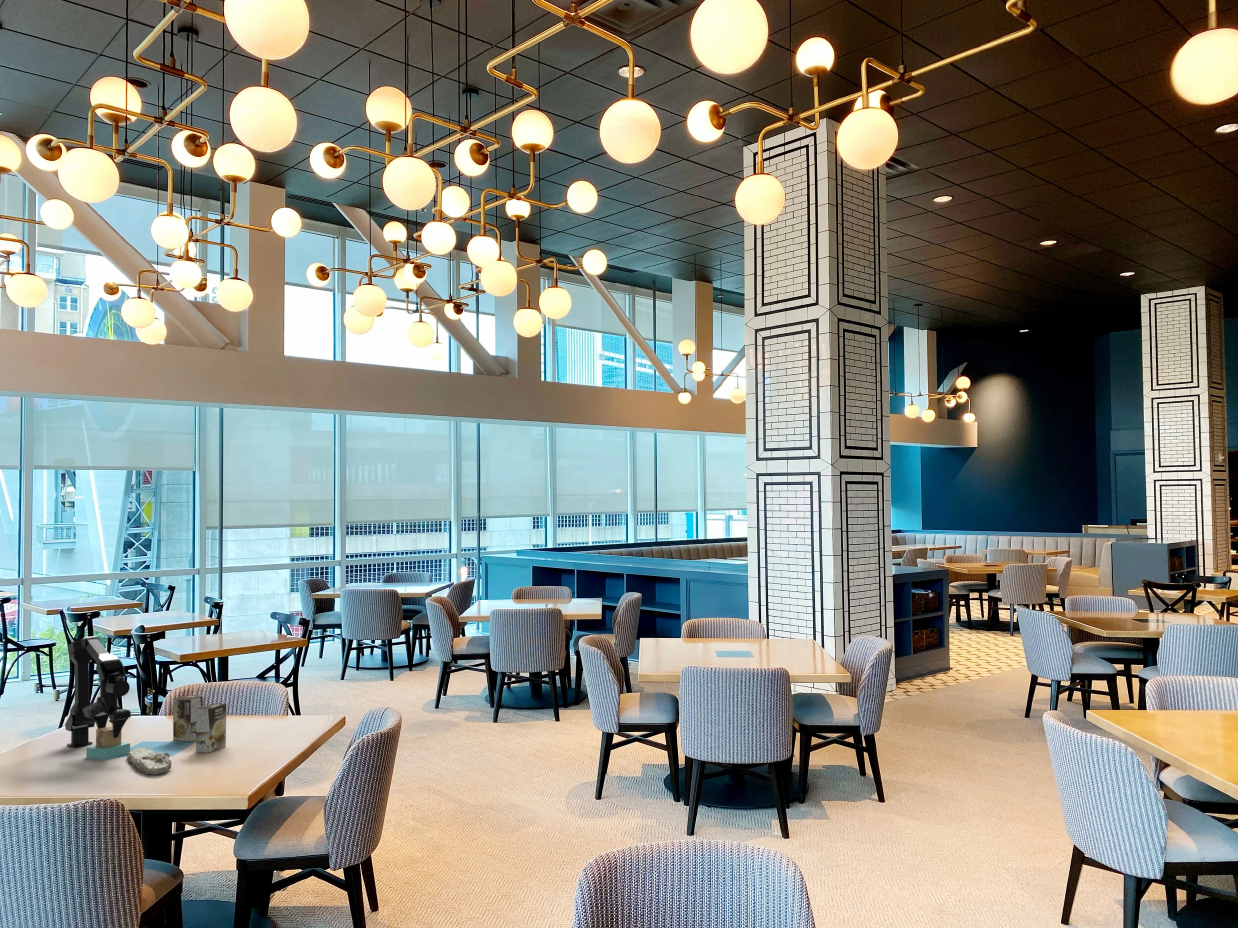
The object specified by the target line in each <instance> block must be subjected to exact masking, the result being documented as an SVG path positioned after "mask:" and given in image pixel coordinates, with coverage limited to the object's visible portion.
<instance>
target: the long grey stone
mask: <svg viewBox="0 0 1238 928" xmlns="http://www.w3.org/2000/svg"><path fill="white" fill-rule="evenodd" d="M170 755H171V754H170V753H169V752H161V753H160V752H159V753H158V752H155V751H153V750H151V749H150V748H149V747H138V748H135V749H130V752H129V753H128V754H127V757H126V758H127V759H128V762H130V763H131V764H132V765H133V767H135V768H137V770H139V771H140V772H142V773H144V774H145V775H161V774H164V773H168V772H169V770H171V768H172V760H171V759H170V758H169V757H170Z"/></svg>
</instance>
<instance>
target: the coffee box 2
mask: <svg viewBox="0 0 1238 928" xmlns="http://www.w3.org/2000/svg"><path fill="white" fill-rule="evenodd" d="M224 746H225V747H226V746H227V703H223V702H222V703H220V702H217V703H215V702H213V703H209V704H205V705H203V706H202V707H199V708H197V717H196V740H195V752H196V753H208V752H210V753H212V751H213V752H216V751H218V750H221V749H223V748H225V747H224ZM222 747H223V748H222ZM217 749H218V750H217Z"/></svg>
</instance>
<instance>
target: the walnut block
mask: <svg viewBox="0 0 1238 928" xmlns="http://www.w3.org/2000/svg"><path fill="white" fill-rule="evenodd" d="M95 731H96V732H95V745H96V746H98V747H102V748H107V747H112V746H116V745H121V742H122V730H121V731H120V733H119V735H118V737H117V738H114V735H113V726H112V725H111V726H106V727H105V728H100V729H98V728H96V730H95Z"/></svg>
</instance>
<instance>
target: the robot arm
mask: <svg viewBox="0 0 1238 928" xmlns="http://www.w3.org/2000/svg"><path fill="white" fill-rule="evenodd" d="M67 652H68V656H69V659H70V660H71V662H72V663H73V665H74V703H73V705H72V706H71V708H70V709H69V710H70V711H69V715H68V718H67V719H66V721H65V724H64V726H65V731H68V732H71V733H70V737H71V738H70V743H66V746H69V747H73V748H79V747H84V746H87V745H92V744H93V741H90V738H89V737H90V735H89V733H90V732H89V731H90V728H94V727H95V726H96V727H97V728H96V729H100V728H105V727H107V723H108V722H110V723H109V724H111V726H113V735H114V738H117V737H118V735H119V733H120V731H121V732H122V729H123V727H124V725H125V724H126V722H127V721H128V720H129V719H130V718H131V717H132V712H131V710H130V709H126V708H121V706H119V699H121V697H125V695H127V694H128V693H129V691H130V688H131V686H130V683H129V682H128V681H126V680H125V677H126V672H127V671H126V669H125V667H124V664H123V662H122V660H121V659H120V658H119V657H118V656H116V654H115V655H114V654H111V653H109V652H108V651H107V648H105V647H104V645H103V644H102V643H101V641H100V638H99V637H98V636H96V635H93V636H85V637H82V638H81V639H79V640H74V641H71V643H70V644H68V646H67ZM92 659H93V660H94V661H95V663H96V667H95V669H96V673H97V674H98V676H99V678H98V681H99V682H100V683H99V696H97V698H96V701H95V702H93V703H91V701H90V662H91V660H92Z"/></svg>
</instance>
